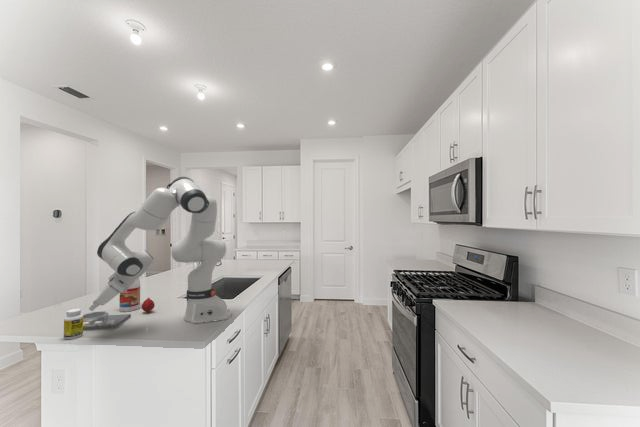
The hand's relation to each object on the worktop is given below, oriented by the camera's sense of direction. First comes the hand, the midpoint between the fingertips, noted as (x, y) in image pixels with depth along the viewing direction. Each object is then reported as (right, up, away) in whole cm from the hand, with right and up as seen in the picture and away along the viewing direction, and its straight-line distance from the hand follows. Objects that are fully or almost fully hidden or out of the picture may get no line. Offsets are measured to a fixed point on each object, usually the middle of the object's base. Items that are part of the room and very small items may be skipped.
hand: (92, 306), depth 124 cm
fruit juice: (-6, -12, +33) cm, 36 cm away
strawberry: (+7, -12, +28) cm, 31 cm away
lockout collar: (-9, -10, +12) cm, 19 cm away
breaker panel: (-5, -12, +12) cm, 18 cm away
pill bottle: (-6, -12, -2) cm, 14 cm away
